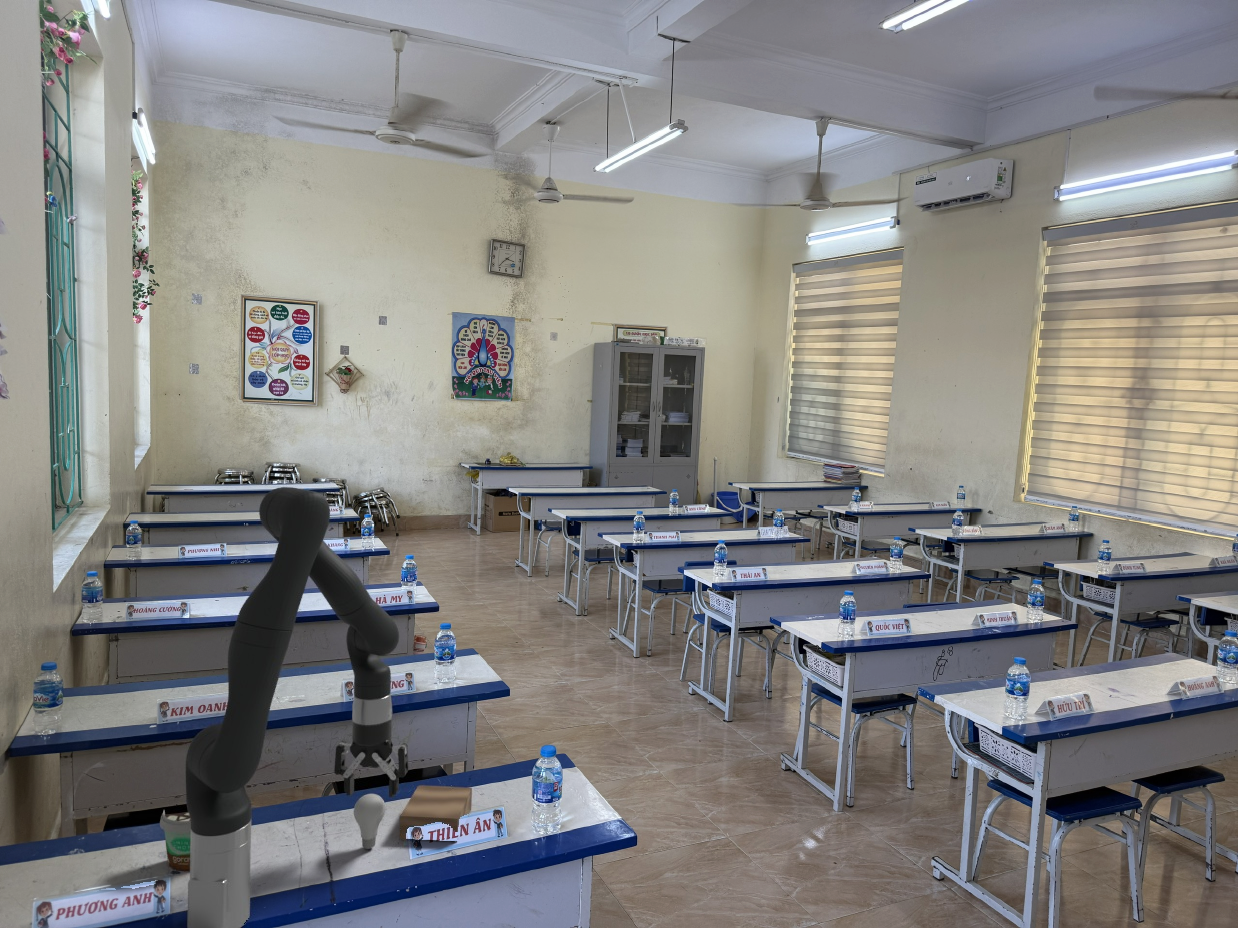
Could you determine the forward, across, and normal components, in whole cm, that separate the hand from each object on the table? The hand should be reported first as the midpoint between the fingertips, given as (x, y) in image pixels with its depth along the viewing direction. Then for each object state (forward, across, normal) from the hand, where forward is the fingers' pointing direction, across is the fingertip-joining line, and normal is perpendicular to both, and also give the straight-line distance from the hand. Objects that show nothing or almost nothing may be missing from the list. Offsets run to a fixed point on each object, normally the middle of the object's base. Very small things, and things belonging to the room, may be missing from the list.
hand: (371, 794), depth 159 cm
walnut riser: (+11, +11, +11) cm, 19 cm away
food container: (+11, -31, -9) cm, 34 cm away
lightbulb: (+11, 0, 0) cm, 11 cm away
